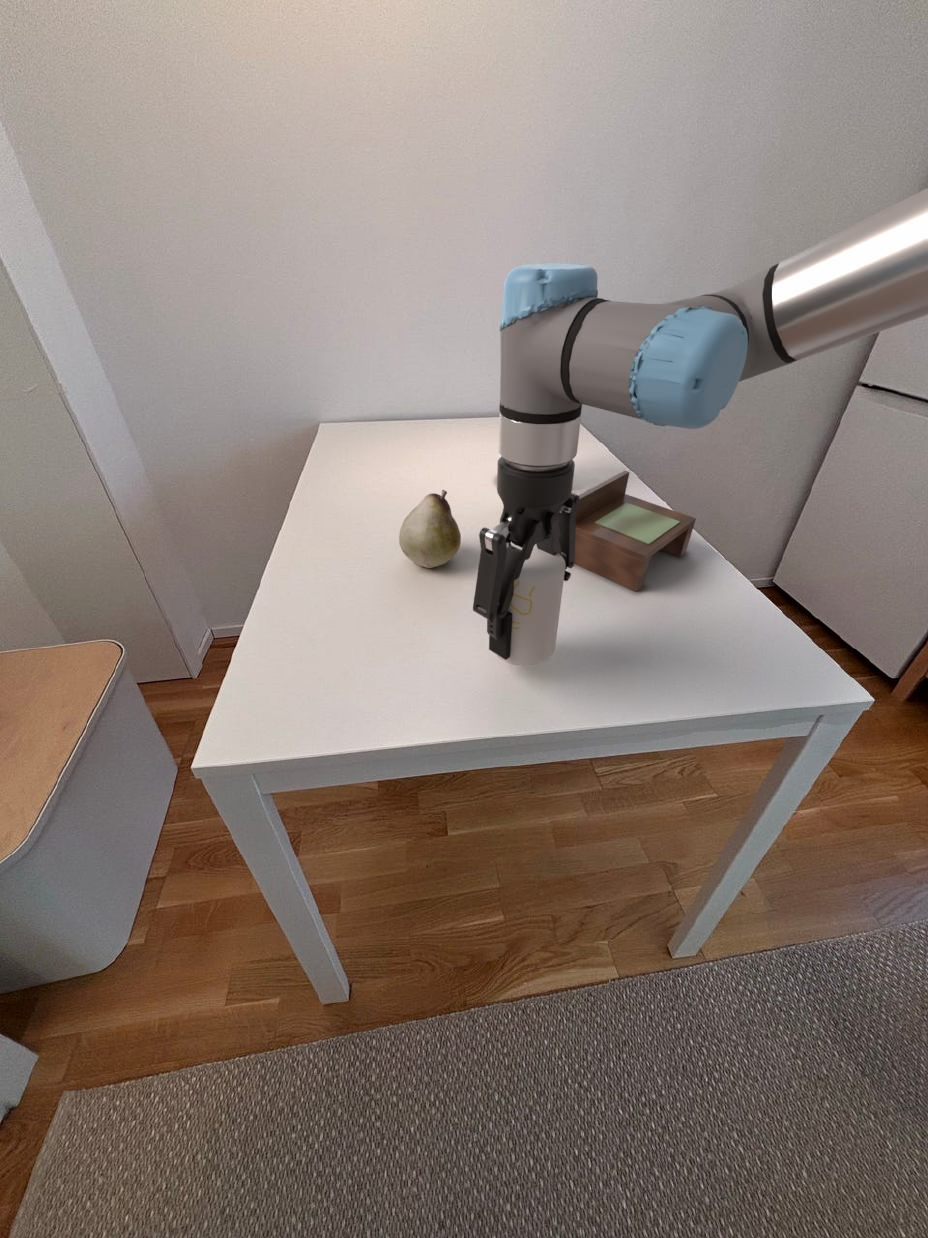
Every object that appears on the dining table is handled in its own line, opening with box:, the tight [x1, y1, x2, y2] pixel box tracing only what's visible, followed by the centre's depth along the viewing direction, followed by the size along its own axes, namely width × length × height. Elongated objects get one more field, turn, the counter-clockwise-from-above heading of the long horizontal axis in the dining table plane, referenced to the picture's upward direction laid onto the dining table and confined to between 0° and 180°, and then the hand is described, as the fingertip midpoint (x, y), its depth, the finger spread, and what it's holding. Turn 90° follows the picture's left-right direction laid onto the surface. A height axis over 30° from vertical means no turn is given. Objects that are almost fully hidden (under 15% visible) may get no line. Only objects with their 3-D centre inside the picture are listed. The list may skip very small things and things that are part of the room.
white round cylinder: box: [492, 544, 566, 667], centre depth 61 cm, size 8×8×12 cm
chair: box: [562, 470, 697, 593], centre depth 84 cm, size 14×16×10 cm
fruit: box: [398, 489, 462, 569], centre depth 82 cm, size 10×9×12 cm
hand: (523, 635), depth 64 cm, fingers closed on white round cylinder, 8 cm apart
